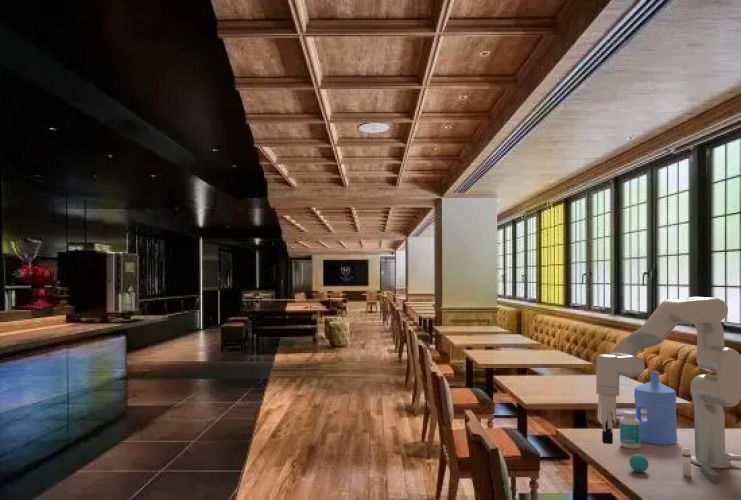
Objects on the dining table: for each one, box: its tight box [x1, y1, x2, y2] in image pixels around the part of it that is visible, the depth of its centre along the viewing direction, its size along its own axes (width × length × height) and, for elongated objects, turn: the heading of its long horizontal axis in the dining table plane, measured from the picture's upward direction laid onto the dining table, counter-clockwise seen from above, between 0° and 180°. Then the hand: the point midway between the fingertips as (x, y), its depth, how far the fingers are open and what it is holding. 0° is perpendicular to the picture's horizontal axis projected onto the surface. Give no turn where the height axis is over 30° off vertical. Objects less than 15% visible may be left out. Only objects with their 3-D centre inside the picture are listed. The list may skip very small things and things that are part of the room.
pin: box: [681, 447, 692, 478], centre depth 199 cm, size 2×2×9 cm
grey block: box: [700, 464, 720, 484], centre depth 198 cm, size 2×12×2 cm, turn 166°
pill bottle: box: [619, 410, 641, 450], centre depth 233 cm, size 8×7×14 cm
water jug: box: [633, 370, 678, 446], centre depth 243 cm, size 16×16×28 cm
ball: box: [629, 453, 649, 473], centre depth 203 cm, size 6×6×6 cm
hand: (607, 443), depth 205 cm, fingers closed
